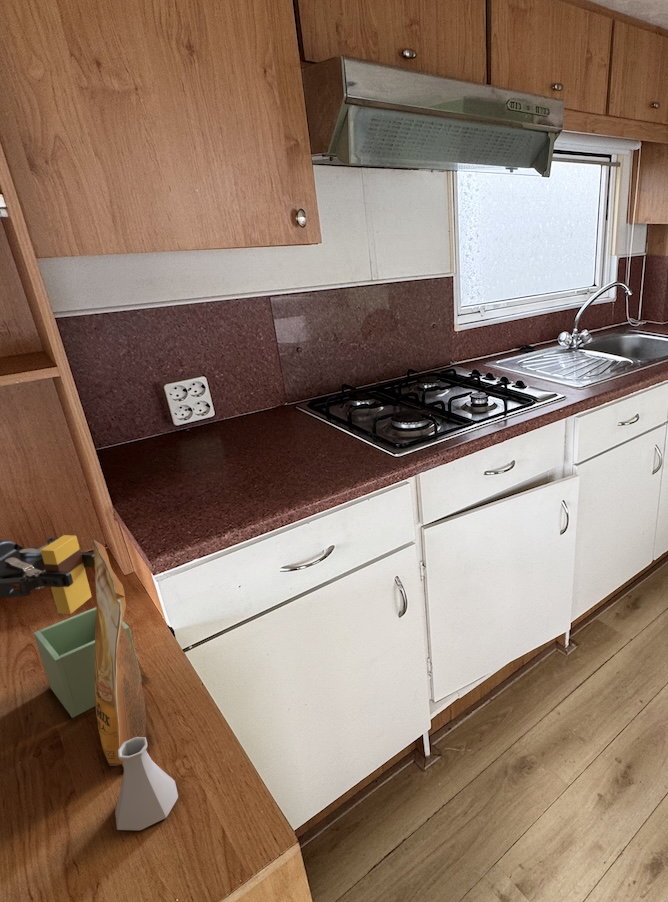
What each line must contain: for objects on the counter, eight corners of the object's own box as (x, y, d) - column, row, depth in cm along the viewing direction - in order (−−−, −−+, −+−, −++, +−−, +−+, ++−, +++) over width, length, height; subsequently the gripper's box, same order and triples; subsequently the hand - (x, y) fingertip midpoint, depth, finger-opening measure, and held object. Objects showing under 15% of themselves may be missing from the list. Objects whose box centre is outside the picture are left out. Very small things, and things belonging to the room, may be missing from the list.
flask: (183, 775, 79) (171, 718, 76) (173, 823, 72) (158, 763, 69) (123, 789, 77) (107, 731, 73) (106, 840, 70) (88, 779, 67)
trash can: (72, 718, 88) (55, 660, 84) (50, 687, 94) (33, 632, 90) (142, 681, 95) (129, 627, 92) (118, 655, 101) (105, 603, 97)
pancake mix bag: (150, 680, 95) (115, 529, 86) (163, 763, 81) (123, 592, 71) (101, 697, 92) (60, 541, 82) (105, 787, 77) (55, 610, 68)
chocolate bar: (57, 613, 87) (39, 550, 84) (79, 595, 92) (63, 534, 88) (70, 614, 87) (53, 551, 83) (92, 596, 92) (77, 535, 88)
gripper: (20, 559, 96) (120, 565, 95) (-64, 613, 82) (52, 620, 82) (8, 519, 93) (110, 525, 92) (-80, 568, 80) (39, 574, 79)
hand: (82, 569), depth 87 cm, fingers closed on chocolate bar, 4 cm apart
